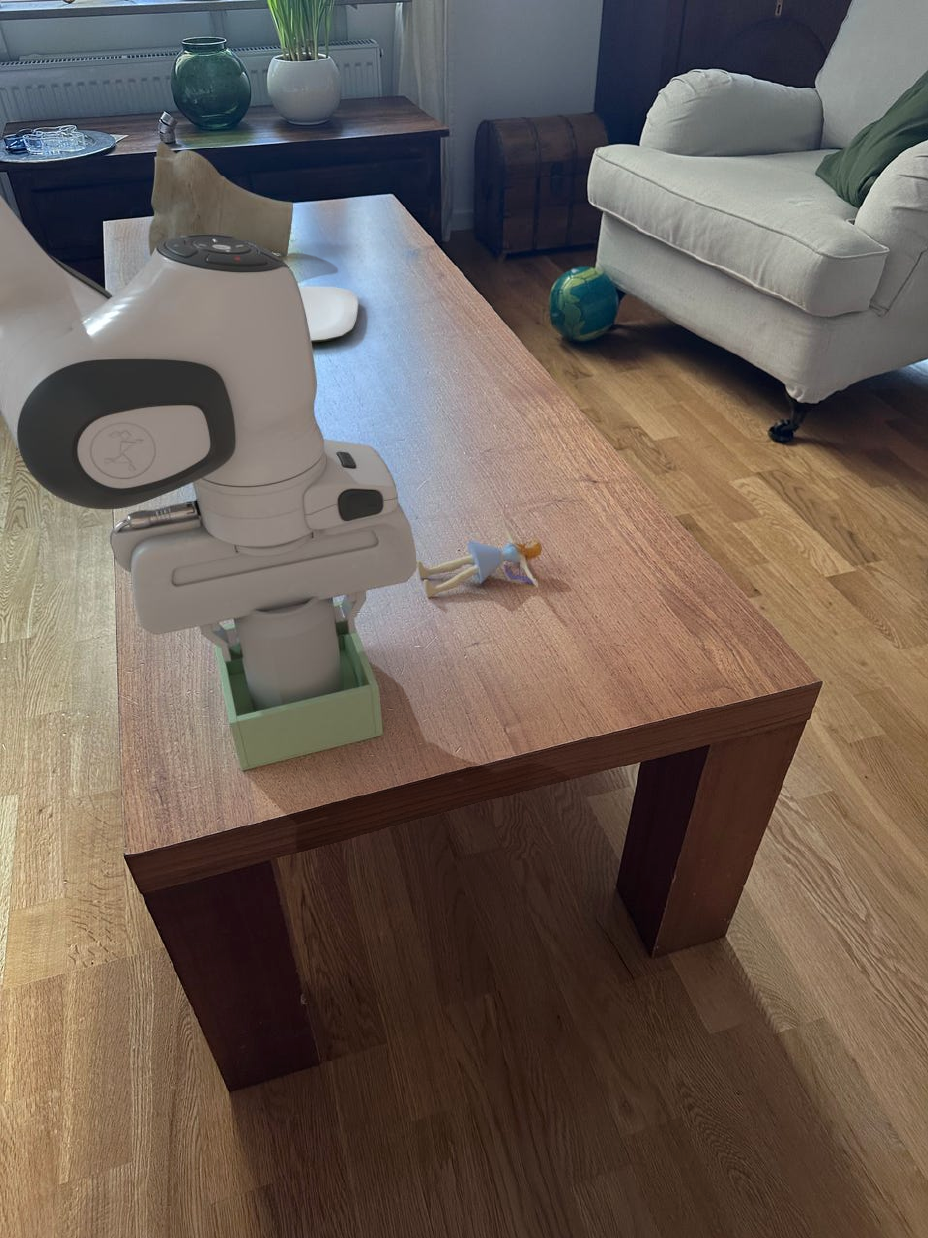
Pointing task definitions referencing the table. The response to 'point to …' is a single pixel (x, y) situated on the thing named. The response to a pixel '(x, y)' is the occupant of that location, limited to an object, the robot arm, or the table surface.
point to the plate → (329, 311)
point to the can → (290, 653)
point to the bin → (303, 711)
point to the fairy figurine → (483, 563)
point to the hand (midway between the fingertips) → (290, 642)
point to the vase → (211, 204)
